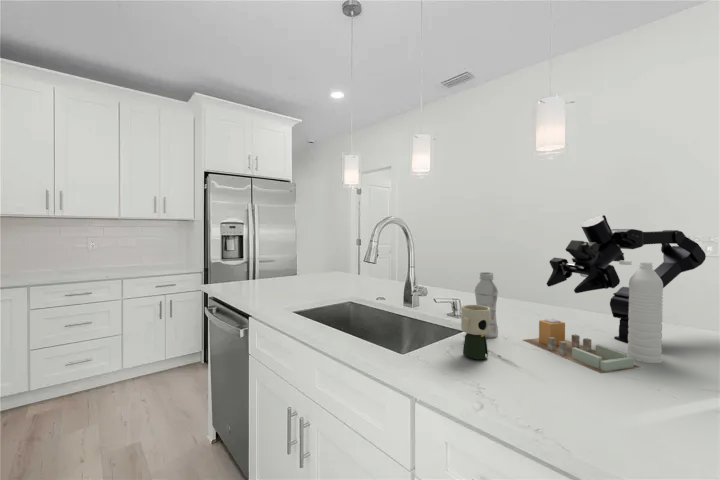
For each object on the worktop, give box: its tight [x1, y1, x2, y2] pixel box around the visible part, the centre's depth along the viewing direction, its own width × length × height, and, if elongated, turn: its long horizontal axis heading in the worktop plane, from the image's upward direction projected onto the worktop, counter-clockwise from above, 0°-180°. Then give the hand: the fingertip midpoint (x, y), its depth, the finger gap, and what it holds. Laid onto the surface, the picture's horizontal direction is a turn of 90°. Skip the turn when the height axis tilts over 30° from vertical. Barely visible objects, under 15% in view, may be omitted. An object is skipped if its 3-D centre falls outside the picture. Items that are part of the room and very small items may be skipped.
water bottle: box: [618, 259, 664, 364], centre depth 86 cm, size 9×6×25 cm
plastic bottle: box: [474, 272, 499, 339], centre depth 104 cm, size 6×7×20 cm
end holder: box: [572, 344, 634, 371], centre depth 82 cm, size 9×8×2 cm
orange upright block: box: [538, 318, 566, 345], centre depth 96 cm, size 5×4×6 cm
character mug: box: [460, 304, 490, 360], centre depth 89 cm, size 11×7×13 cm, turn 133°
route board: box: [522, 333, 640, 374], centre depth 89 cm, size 12×24×4 cm, turn 16°
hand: (560, 288), depth 95 cm, fingers open, 9 cm apart
